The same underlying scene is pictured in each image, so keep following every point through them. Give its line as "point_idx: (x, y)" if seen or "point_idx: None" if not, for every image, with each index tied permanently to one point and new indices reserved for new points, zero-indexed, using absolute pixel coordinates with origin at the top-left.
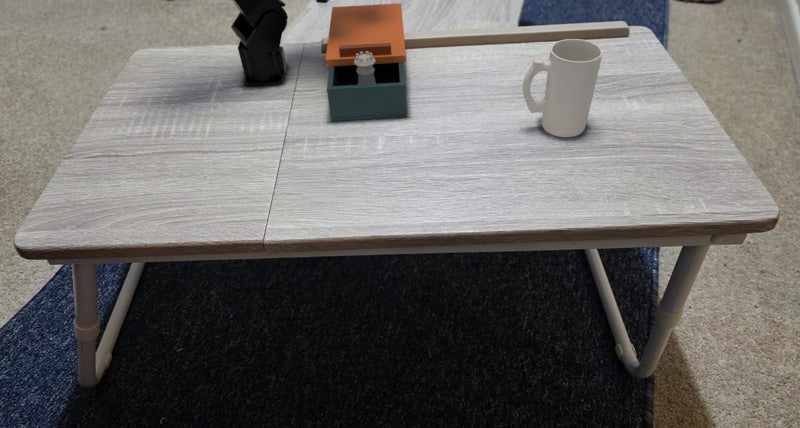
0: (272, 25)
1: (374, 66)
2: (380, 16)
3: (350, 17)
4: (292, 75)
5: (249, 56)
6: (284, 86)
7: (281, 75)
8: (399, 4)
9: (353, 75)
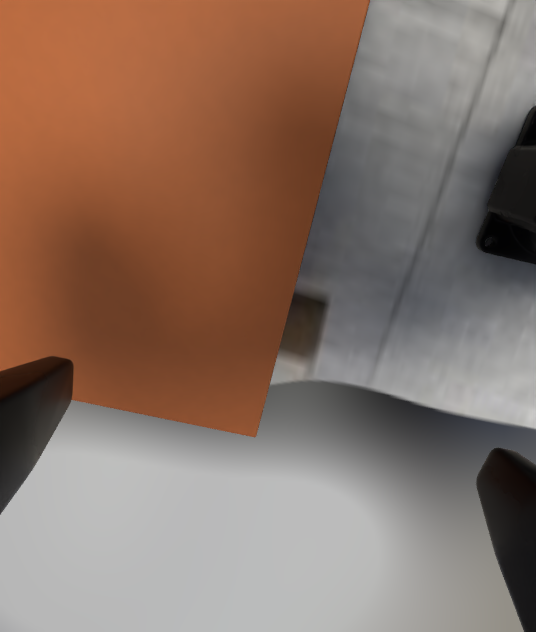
0: None
1: None
2: (41, 266)
3: (189, 308)
4: (470, 170)
5: None
6: (526, 86)
7: (527, 144)
8: None
9: None
